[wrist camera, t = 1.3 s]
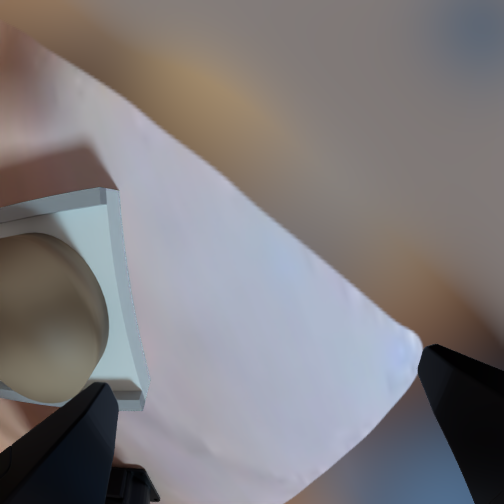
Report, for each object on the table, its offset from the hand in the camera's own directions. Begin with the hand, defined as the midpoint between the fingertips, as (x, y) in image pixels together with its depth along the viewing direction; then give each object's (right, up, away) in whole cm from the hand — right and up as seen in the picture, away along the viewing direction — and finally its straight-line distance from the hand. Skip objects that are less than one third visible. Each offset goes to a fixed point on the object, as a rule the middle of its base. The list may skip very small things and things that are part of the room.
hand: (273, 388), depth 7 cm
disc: (-15, -1, +9) cm, 18 cm away
